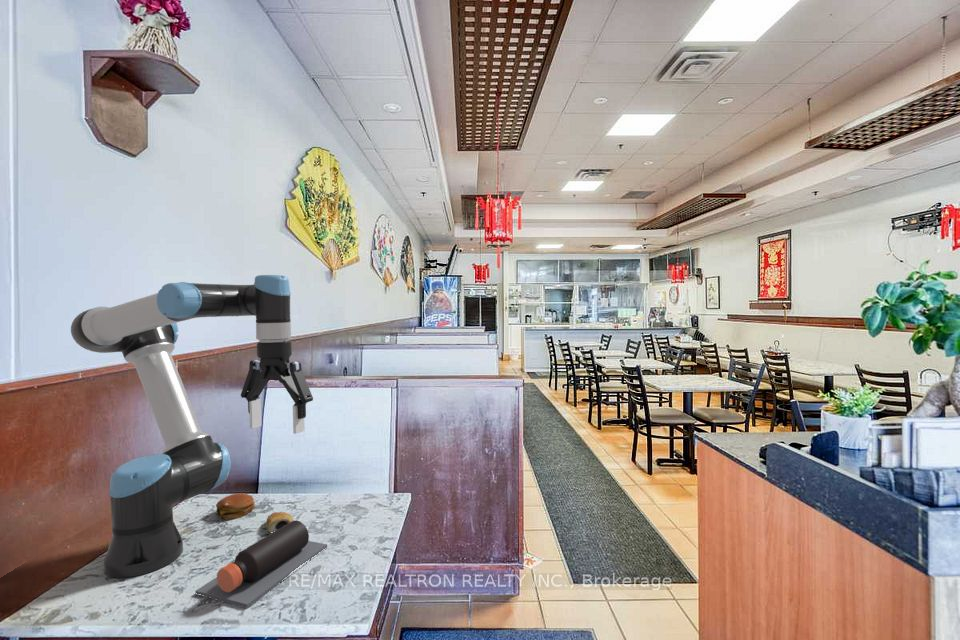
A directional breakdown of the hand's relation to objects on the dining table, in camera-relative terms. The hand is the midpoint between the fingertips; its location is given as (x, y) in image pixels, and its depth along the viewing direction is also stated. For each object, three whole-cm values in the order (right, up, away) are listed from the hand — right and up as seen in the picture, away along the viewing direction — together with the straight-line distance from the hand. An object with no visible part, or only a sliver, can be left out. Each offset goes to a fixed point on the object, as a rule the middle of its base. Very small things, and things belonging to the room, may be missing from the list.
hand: (277, 429), depth 111 cm
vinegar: (+5, -26, +2) cm, 26 cm away
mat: (0, -30, -6) cm, 31 cm away
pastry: (-6, -30, +15) cm, 34 cm away
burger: (-22, -30, +24) cm, 44 cm away
